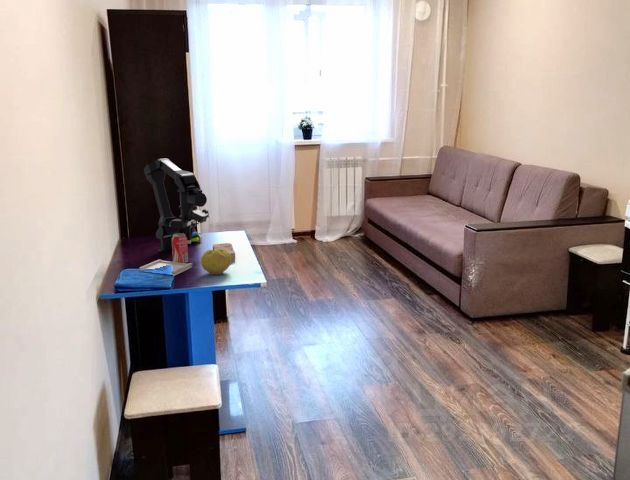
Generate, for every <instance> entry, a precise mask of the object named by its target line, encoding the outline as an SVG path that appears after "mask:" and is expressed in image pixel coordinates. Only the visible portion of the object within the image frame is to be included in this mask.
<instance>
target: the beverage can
mask: <svg viewBox="0 0 630 480" xmlns="http://www.w3.org/2000/svg"><path fill="white" fill-rule="evenodd" d="M188 248H189V247H188V244H187V237H186V235H185V234H183V232H182V233H181V232H179V233H177V234H174V235H173V237H172V262H178V263H186V264H187V263H188V262H189V249H188Z"/></svg>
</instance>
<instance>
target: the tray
mask: <svg viewBox="0 0 630 480" xmlns="http://www.w3.org/2000/svg"><path fill="white" fill-rule="evenodd" d="M166 265H172V266H173V271H172V272H171V273H172V274H173V276H172V277H175V276H176V275H179V274H180V273H183V272H185V271H187V270H189V269H191V268H193V267H194V266H193V263H192V262H190V263H187V262H186V263H178V262H173V261H169V260H162V259H157V260H154V261H151V262H150V263H148V264H144V265H141V266H140V267H139V268H138V269H139V270H143V269H155V268H160V267H163V266H166ZM139 270H138V271H139Z"/></svg>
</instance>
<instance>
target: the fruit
mask: <svg viewBox="0 0 630 480" xmlns="http://www.w3.org/2000/svg"><path fill="white" fill-rule="evenodd" d="M231 259H232V258H231V255H230V253H229V252H228V251H226V250H224V249H216V250H214V251H213V249H208V250H206V251H205V252H204V253H203V255H201V259H200V264H201V265H200V266H201V268H202V269H203V270H204V271H206V272H207V273H209V274H211V275H213V276H214V275H215V276H216V275H217V276H219V275H221V274H223V273H224V272H225V271H226V270H228V268H229V267H230V266H231V264H232V262H231Z"/></svg>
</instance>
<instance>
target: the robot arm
mask: <svg viewBox="0 0 630 480" xmlns="http://www.w3.org/2000/svg"><path fill="white" fill-rule="evenodd" d="M143 173H144V176H145V177H146V180H147V182H148V183H150V184H151V186H152V189H153V192H154V196H155V197H154V198H155V200H156V205H157V208H158V213H159V216H160V217H159V219H158V220H159V221H158V223H157V224H158V228H157V230H156V232H155V237H156V239H158V240H159V244H160V245H159V247H160V248H159V250H157V251H158V252H159V253H166V254H171V253H172V237H173V235H174V234H177V233H180V230H181V231H182V233H184V234H185V235H186V237H187V240H191V238H192V234H193V230H194V229H195V227H196V226H198V225H199V224H203V223H204V222H207V218H210V214H209V209H207V208H205V209H204V208H203V209H198V207H199V208H202V207H204V206H205V205H206V204H207V202H208V198H207V196H206V194H205V193H204V192H203V190H202V188H201V185H200V183H199V181H198V180H197V178H196V175H195V174H194V173H193V172H190V171H187V170H182V169H181V168H179V167H178V166H177V165H176V164H175V163H173V162H172V161H171V160H170V159H169V158H158V159H155V161H152V162H150V163H148V164H146V165H145V167H144V168H143ZM166 174H167V175H168V176H169V177H171V178H173V179H174V184H175V185H176V186H177V187H178V188H177V190H176V192H177V193H179V203H180V205H179V206H178V207H177V208H178V210H180V215H179V216H174V214H173V213H172V209H171V207H170V201H169V198H168V195H167V189H166V187H165V184H164V181H165V179H166Z"/></svg>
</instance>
